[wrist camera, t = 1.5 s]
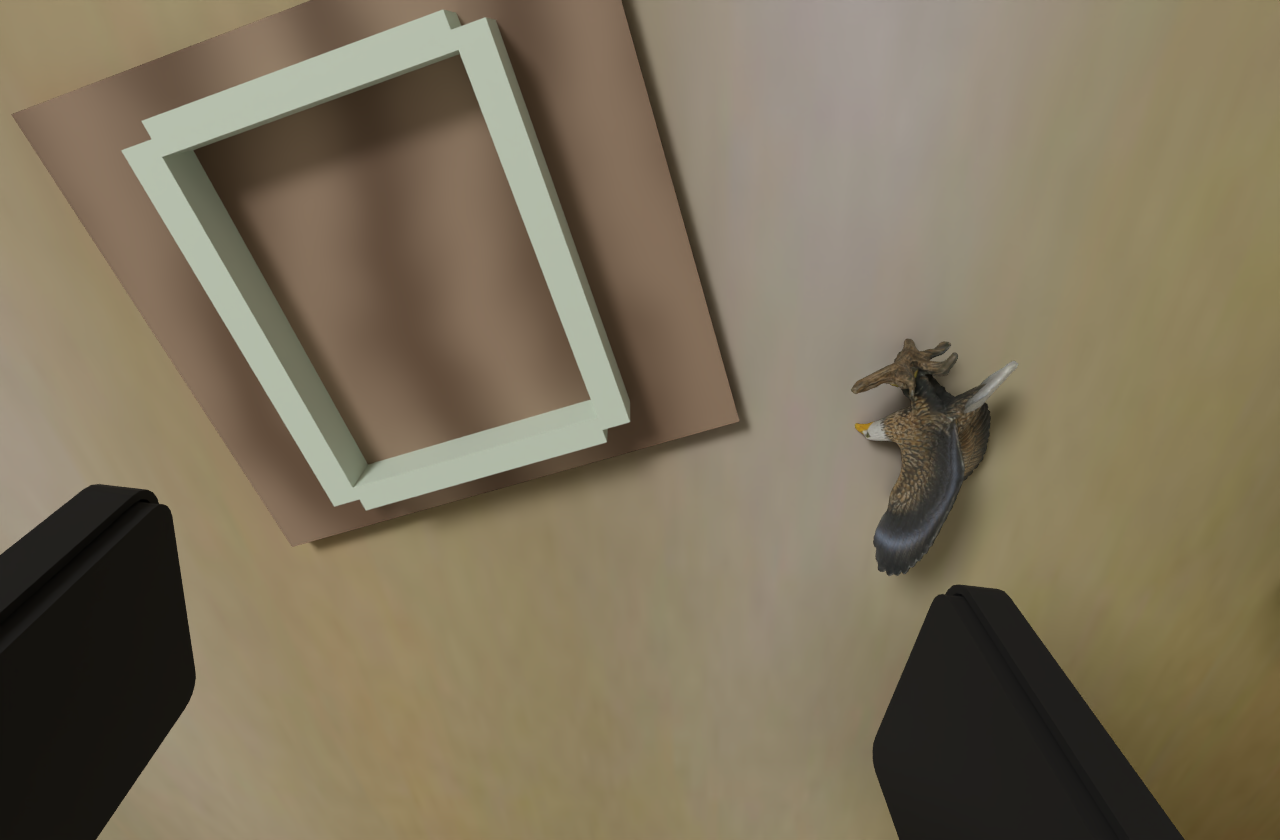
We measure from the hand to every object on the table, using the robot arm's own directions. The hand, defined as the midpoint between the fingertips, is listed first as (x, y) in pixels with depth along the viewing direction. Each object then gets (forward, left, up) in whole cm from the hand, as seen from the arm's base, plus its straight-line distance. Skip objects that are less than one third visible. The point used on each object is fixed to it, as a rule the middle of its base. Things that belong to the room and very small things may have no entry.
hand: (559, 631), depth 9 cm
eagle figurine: (-10, +12, -23) cm, 28 cm away
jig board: (+8, -1, -23) cm, 24 cm away
